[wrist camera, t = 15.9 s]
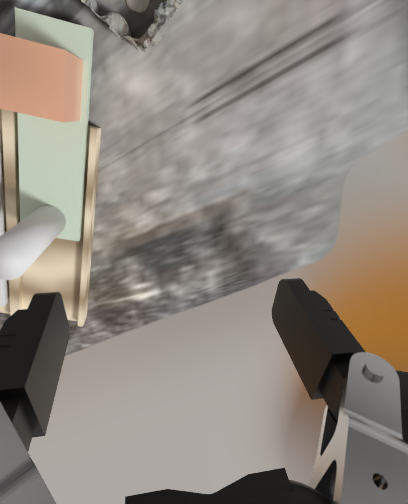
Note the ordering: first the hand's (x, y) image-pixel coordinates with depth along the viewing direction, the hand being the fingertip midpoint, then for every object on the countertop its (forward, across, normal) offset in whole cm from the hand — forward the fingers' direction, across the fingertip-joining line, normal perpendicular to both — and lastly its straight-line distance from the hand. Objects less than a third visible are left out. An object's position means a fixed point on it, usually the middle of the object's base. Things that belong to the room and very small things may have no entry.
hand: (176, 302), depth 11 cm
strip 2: (+25, +10, 0) cm, 27 cm away
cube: (+24, +9, -5) cm, 26 cm away
